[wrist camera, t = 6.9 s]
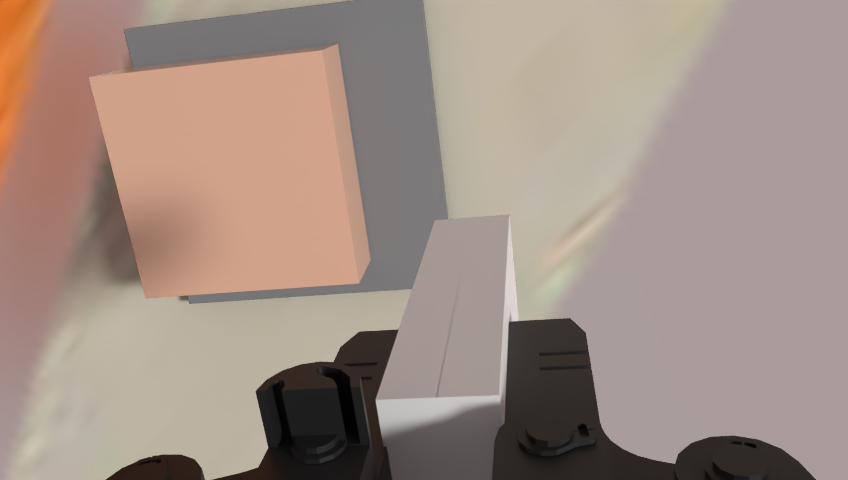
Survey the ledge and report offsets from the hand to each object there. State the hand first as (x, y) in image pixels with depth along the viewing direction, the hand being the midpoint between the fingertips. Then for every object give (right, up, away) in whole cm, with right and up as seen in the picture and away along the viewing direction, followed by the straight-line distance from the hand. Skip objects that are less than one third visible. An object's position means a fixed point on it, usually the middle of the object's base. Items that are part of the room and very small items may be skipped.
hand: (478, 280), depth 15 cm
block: (-4, +4, +14) cm, 15 cm away
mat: (-6, +4, +16) cm, 18 cm away
